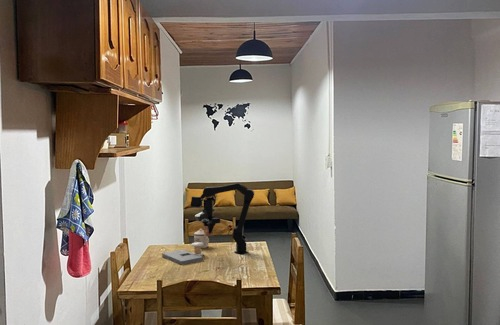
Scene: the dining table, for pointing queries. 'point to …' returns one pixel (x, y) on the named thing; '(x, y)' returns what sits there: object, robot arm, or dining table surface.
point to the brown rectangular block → (207, 231)
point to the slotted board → (182, 257)
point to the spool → (198, 248)
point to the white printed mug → (201, 238)
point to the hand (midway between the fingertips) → (208, 233)
